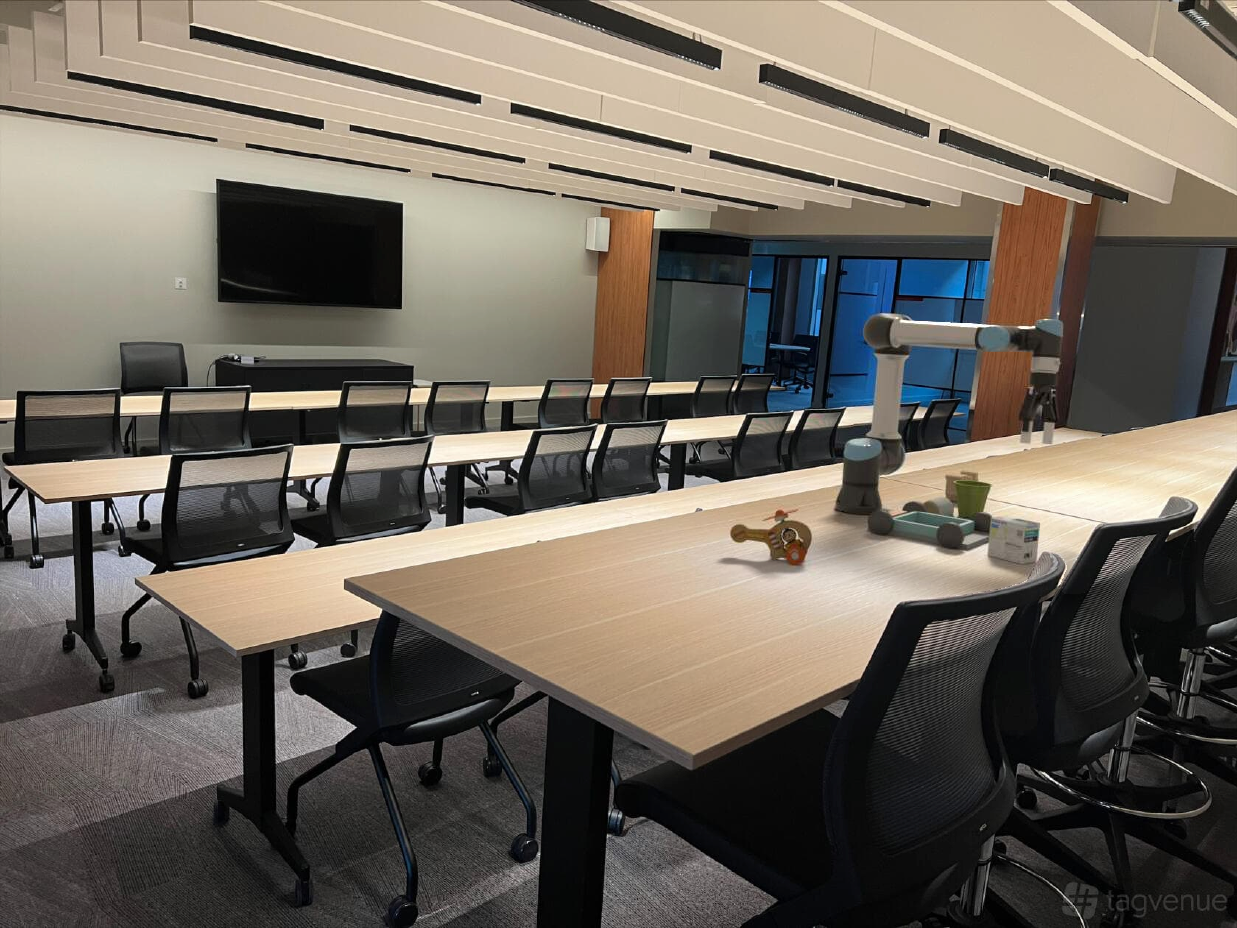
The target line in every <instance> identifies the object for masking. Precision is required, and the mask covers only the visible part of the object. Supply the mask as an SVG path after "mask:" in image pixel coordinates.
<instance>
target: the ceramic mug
mask: <svg viewBox="0 0 1237 928" xmlns="http://www.w3.org/2000/svg"><path fill="white" fill-rule="evenodd" d="M922 504H924V506H925V507H926V510H927V513H931V514H937V515H943V516H948V517H954V518H957V517H956V516H955V515H954V513H955V507H954V504H953V502H952V501H950V500H949V499H947V498H946V496H945V497H944V496H938V497H935V498H932V499H928V500H926V501H924V502H922Z"/></svg>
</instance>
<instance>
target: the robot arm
mask: <svg viewBox="0 0 1237 928" xmlns="http://www.w3.org/2000/svg"><path fill="white" fill-rule="evenodd" d="M862 334H863V338H864V340H865V342H866V344H867V345H868V346H870V347H872V348H873V350H874V351H873V355H874V356H875V357H876V358H877V365H876V378H875V387H874V389H875V390H874V399H873V408H872V409H873V410H872V418H871V428H870V430H869V432H867V433H866V434H865V437H863V438H862V437H861V438H854V439H850V440H848V441H847V442H846V443H845V446H844V451H843V464H842V465H843V466H842V467H843V468H842V478H841V479H842V482H841V487H840V490H839V492H838V495H837V497H836V500H835V502H834V509H835V510H836V509H838V510H837V511H839V512H842V511H844V512H843V513H846V512H847V513H848V514H855V515H870V514H871V513H873V512H875V511H878V510H883V502H882V499H881V494H880V491H879V490H880V489H879V483H880V476H888V475H891V474H894V473H896V472H898V470H900V469H901V468H902V467H903V465H904V462H905V460H906V451H905V448H904V447H903V445H902V435H901V434H900V433H899V432H898V431H899V422H900V421H899V420H900V410H901V399H902V391H903V381H904V380H903V379H904V368H905V361H906V360H907V359H908V358H909V357H910V356H911V350H912V346H913V347H915V346H917V347H928V348H930V347H931V348H946V349H960V350H961V349H962V350H975V351H985V352H986V351H987V352H992V353H993V352H994V353H995V352H997V353H998V352H1004V353H1005V352H1015V353H1016V352H1019V353H1020V352H1021V353H1023V352H1024V353H1025V352H1030V353H1032V355H1031V364H1030V371H1031V372H1030V374H1029V375H1030V376H1029V385H1031V386H1032V387H1027V389H1026V394H1025V397H1024V401H1023V403H1022V405H1021V408H1020V411H1019V414H1018V421H1021V423H1022V425H1021V433H1020V440H1019V443H1020V444H1021V443H1022V444H1031V441H1032V432H1033V423H1034V422H1033V421H1032V420H1033V418H1034V416H1035V414H1036V412H1037V410H1038V408H1039V407H1040V406H1041V407H1042V411H1043V415H1044V418H1045V421H1046V422H1044V423H1043V434H1042V441H1041V443H1042V445H1043V444H1045V445H1053V440H1054V433H1055V432H1054V431H1055V424H1058V423H1059V421H1060V414H1059V407H1058V405H1059V404H1058V398H1057V397H1058V390H1057V389H1052V387H1056V386H1057V385H1058V381H1059V380H1058V379H1059V375H1058V372H1059V369H1060V365H1061V353H1062V352H1061V351H1062V343H1063V338H1064V323H1063V321H1062V320H1059V319H1051V318H1050V319H1047V318H1045V319H1037V321H1035V325H1034V326H1014V325H1013V326H1012V325H1011V326H1010V325H999V324H977V323H959V322H958V323H957V322H952V323H951V322H939V321H938V322H937V321H921V320H920V321H917V320H916V321H915V320H913V319H912V318H910V317H909V316H907V315H904V314H900V313H883V312H882V313H881V312H880V313H876V314H873V315H872V316H871V317H869V318H868V319H867V320H866V322H865V323H864V326H863V330H862Z"/></svg>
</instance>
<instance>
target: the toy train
mask: <svg viewBox="0 0 1237 928" xmlns="http://www.w3.org/2000/svg"><path fill="white" fill-rule="evenodd" d="M945 480H946V481H945V492H944V495H945V497H946V498H947V499H949V500H950V501H951V503H953V502H954V503H957V491H956V486H955V483H954V481H958V480H967V481H979V473H978V472H974V471H968V470H961V471H960V473H956V472H954V473H953V472H952V473H948V474H946V475H945Z"/></svg>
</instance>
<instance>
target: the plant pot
mask: <svg viewBox="0 0 1237 928" xmlns="http://www.w3.org/2000/svg"><path fill="white" fill-rule="evenodd" d="M954 483H955V486H956V491H957V502H956V504H957V515H958V516H959V517H960V518H969V519H970V517H971V516H972V515H974V514H976V513H979V512H985V507H986V502H987V499H988V495H989V494H990V490H991V487H993V484H992V483H990V482H985V481H979V480H978V481H967V480H958V481H954Z"/></svg>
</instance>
